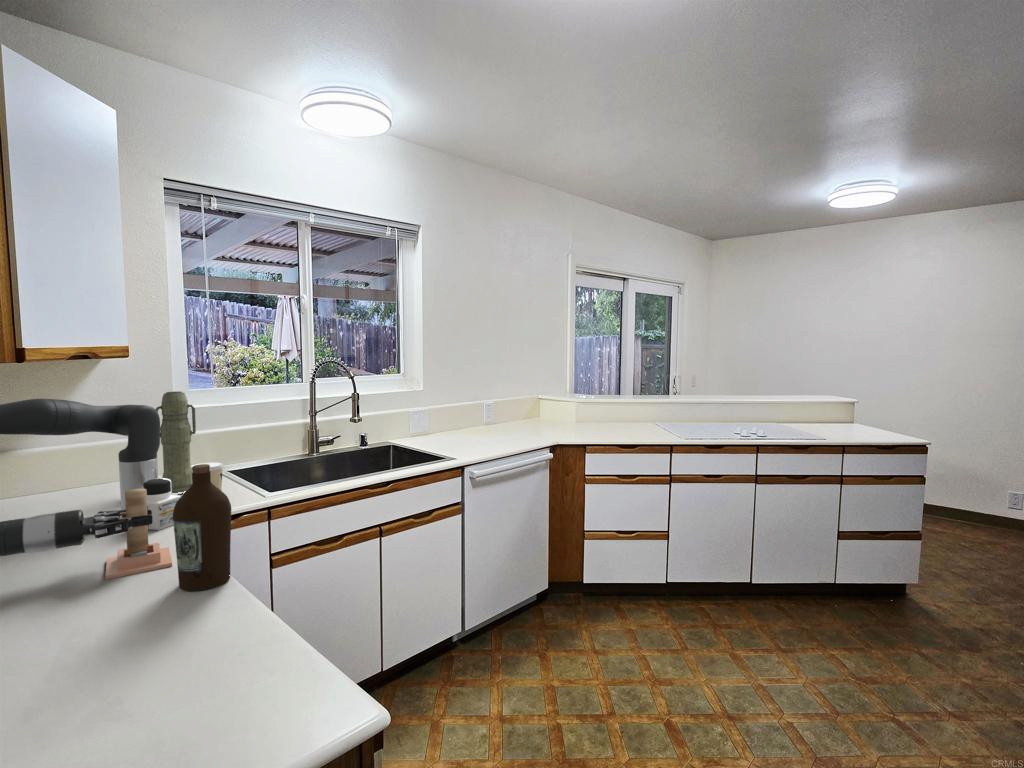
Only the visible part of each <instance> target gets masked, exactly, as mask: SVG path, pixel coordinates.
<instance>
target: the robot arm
mask: <svg viewBox="0 0 1024 768" xmlns="http://www.w3.org/2000/svg"><path fill="white" fill-rule="evenodd" d="M155 409H156V408H154V407H153V406H150V405H143V404H120V405H93V404H87V403H83V402H79V401H74V400H67V399H56V398H55V399H54V398H30V399H24V400H18V401H12V402H8V403H2V404H0V435H31V436H36V435H37V436H68V435H69V436H70V435H79V434H83V433H104V434H113V435H120V436H125V437H126V436H127V446H125V448H123V449H121V450H120V451H119V452H118V471H119V472H118V473H119V491H120V495H119V496H120V498H119V499H120V509H118V510H103V511H102V510H100V511H98V512H97V513H96V514H93V516H88V517H84V512H83V511H84V510H81V509H76V510H75V509H74V510H66V511H60V512H52V513H46V514H45V513H44V514H38V515H34V516H30V517H24V518H15V519H8V520H1V521H0V557H5V556H12V555H17V554H24V553H33V552H44V551H50V550H55V549H62V548H63V549H64V548H67V547H68V548H69V547H75V546H80V545H83V543H84V542H85V541H84V540H85V536H92V535H93V536H94V538H95V539H101V538H106V537H109V536H113V535H114V536H115V535H118V534H122V533H126V532H127V531H128V529H131V528H132V526H133V527H138V526H144V525H150V524H152V511H151V510H147V515H142V516H135V517H126V505H125V492H126V491H128V490H132V489H143V484H144V482H146V481H148V480H151V479H157V478H159V469H158V452H159V450H160V449H159V448H160V446H161V438H160V427H161V420H160V415H159V414H160V413H159V411H158V412H157V411H156V410H155Z"/></svg>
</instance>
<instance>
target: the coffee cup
mask: <svg viewBox="0 0 1024 768" xmlns="http://www.w3.org/2000/svg"><path fill="white" fill-rule="evenodd" d="M201 464H208V465H210V468H209V470H210V471H211V483H212V484H213V485H215V486H216V487H217V488H218V489H220V490H221V491H222V490H223V489H222V488H223V468H224V466H223V463H222V462H216V461H214V462H211V461H210V462H201V463H196V464H193V465H190V473H191V483H193V482H192V473H193V470H192V467H193V466H195V465H201ZM222 492H223V491H222Z"/></svg>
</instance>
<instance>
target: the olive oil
mask: <svg viewBox="0 0 1024 768" xmlns="http://www.w3.org/2000/svg"><path fill="white" fill-rule="evenodd" d="M194 465H195V464H194ZM209 468H210V465H208V464H201V465H195V466H193V467H192V470H193V473H192V482H193V483H192V485H191V487H190V488H189V489H188V490H187V491H186V492H185V493H184V494H181V496H180V498H179V500H178V501H177V502H176V504H175V507H174V511H173V518H172V520H173V525H172V526H173V533H174V542H175V544H174V545H175V553H176V554H175V555H176V562H177V563H176V564H177V575H178V587H179V589H180V590H181V591H185V592H203V591H209V590H212V589H215V588H217V587H220V586H222V585H224V584H225V583H227V582H228V581H229V580H230V579H231V543H232V542H231V541H232V540H231V534H232V533H231V532H232V504H231V501H230V499H229V496H227V494H226V493H225V492H223V491H221V490H220V489H218V488H217V487H216V486H215V485H213V484H212V483H211V471H210V470H209ZM229 575H230V576H229Z"/></svg>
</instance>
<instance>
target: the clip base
mask: <svg viewBox="0 0 1024 768" xmlns="http://www.w3.org/2000/svg"><path fill="white" fill-rule="evenodd" d="M148 547H149V553H147V551H144V552H138V553H133V554H131V556H130V557H127V547H125V548H121V549H117V554H116V556H112V557H107V558H106V564H105V565H106V566H105V580H110V579H109V578H111V579H115V578H114V577H116V578H120V576H121V577H126V576H131V575H135V574H139V573H145V572H149V571H155V570H159V569H164V568H165V569H166V568H169V566H170V567H173V560H172V556H171V552H170V548H169V547H170V546H166V547H162V548H161V547H160V543H159V541H158V542H154V543H148ZM125 575H126V576H125Z"/></svg>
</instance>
